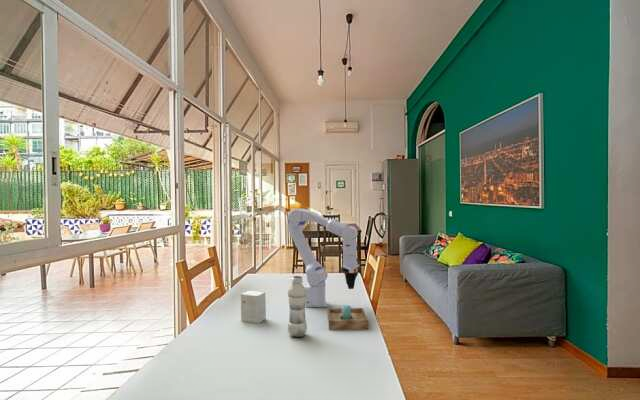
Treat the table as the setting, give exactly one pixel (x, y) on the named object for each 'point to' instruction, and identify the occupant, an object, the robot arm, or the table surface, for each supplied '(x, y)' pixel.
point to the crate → (356, 320)
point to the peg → (346, 312)
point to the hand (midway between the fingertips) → (350, 286)
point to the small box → (253, 306)
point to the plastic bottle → (297, 308)
